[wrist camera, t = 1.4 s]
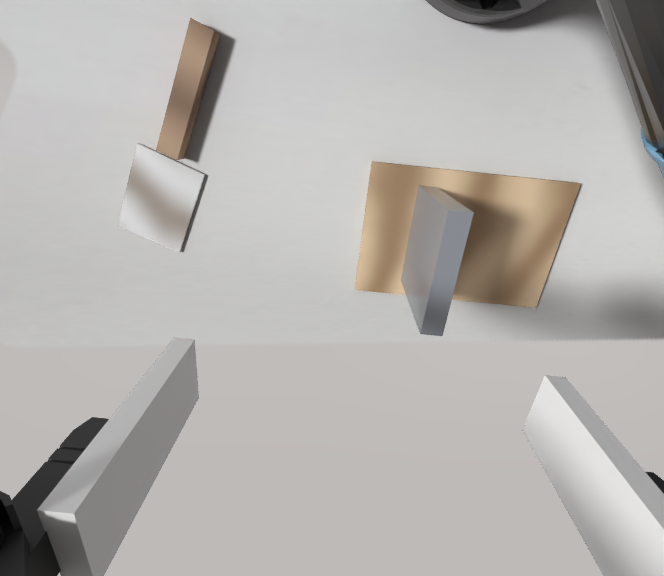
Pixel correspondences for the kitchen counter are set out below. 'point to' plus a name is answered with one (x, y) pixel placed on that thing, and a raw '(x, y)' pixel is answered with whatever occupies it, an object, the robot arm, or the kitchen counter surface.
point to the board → (484, 235)
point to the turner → (171, 153)
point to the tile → (434, 256)
